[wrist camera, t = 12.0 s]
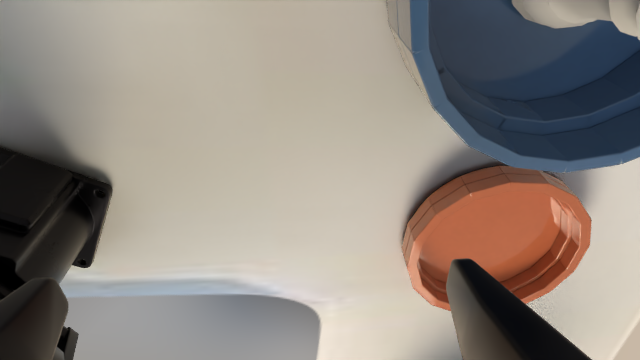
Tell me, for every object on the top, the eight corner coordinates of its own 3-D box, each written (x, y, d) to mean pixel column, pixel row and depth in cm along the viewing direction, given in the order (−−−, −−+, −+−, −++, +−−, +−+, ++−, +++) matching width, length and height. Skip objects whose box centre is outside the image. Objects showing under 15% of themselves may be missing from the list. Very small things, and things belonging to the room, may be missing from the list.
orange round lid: (494, 305, 29) (506, 329, 27) (370, 262, 26) (375, 286, 24) (608, 201, 24) (631, 223, 22) (471, 133, 21) (486, 153, 19)
